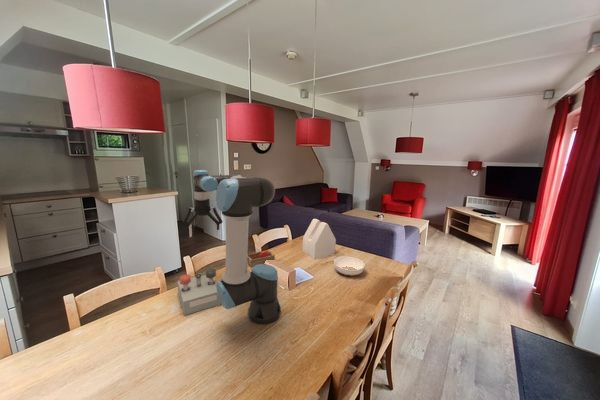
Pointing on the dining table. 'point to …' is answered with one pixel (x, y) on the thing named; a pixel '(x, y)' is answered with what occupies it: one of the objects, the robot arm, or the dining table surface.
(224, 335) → the dining table surface
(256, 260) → the brown wooden crate
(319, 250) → the white house shaped block
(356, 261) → the bowl
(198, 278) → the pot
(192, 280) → the control box
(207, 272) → the knob black
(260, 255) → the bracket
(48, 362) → the dining table surface
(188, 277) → the knob red
